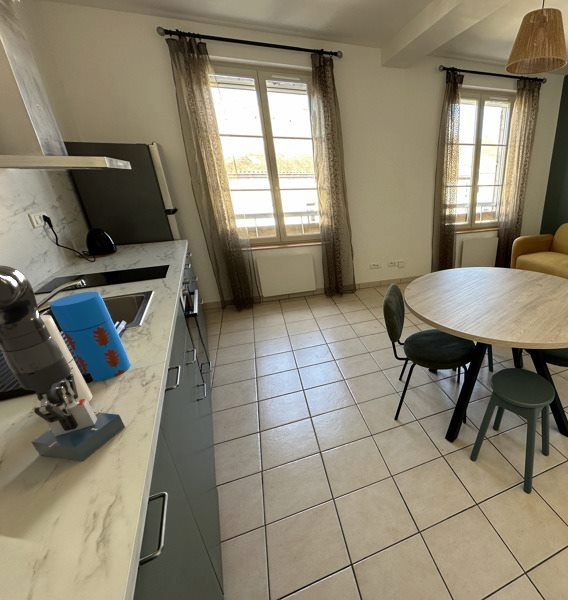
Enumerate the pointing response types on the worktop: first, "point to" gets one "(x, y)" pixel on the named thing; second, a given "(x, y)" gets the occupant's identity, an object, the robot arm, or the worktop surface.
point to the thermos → (91, 334)
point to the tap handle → (76, 417)
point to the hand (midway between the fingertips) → (73, 424)
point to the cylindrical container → (68, 359)
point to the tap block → (80, 439)
